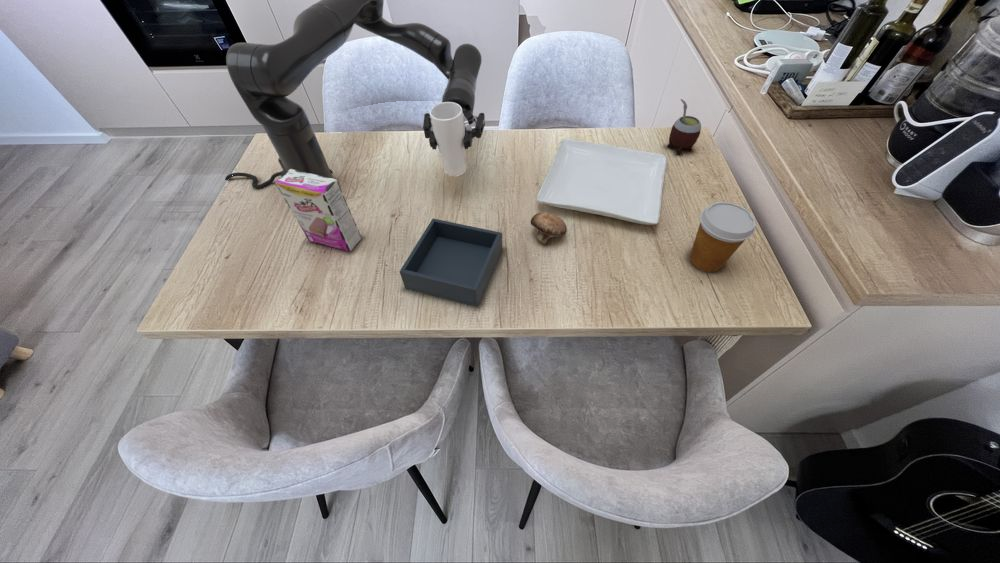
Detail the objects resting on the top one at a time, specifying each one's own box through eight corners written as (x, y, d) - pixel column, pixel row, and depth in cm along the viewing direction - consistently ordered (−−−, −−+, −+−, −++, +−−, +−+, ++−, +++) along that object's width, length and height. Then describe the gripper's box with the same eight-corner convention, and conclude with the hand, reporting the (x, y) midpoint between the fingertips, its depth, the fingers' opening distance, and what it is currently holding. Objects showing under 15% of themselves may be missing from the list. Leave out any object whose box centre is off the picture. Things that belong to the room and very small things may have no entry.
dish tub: (405, 288, 79) (399, 271, 75) (436, 235, 88) (432, 218, 84) (478, 307, 76) (475, 290, 72) (502, 250, 85) (502, 232, 81)
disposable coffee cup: (725, 285, 78) (754, 242, 68) (676, 267, 81) (697, 224, 71) (733, 253, 83) (761, 209, 73) (687, 238, 86) (708, 194, 76)
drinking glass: (464, 181, 90) (455, 122, 78) (436, 176, 91) (423, 117, 79) (474, 163, 94) (467, 103, 81) (447, 158, 95) (437, 99, 83)
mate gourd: (693, 144, 108) (715, 89, 96) (691, 160, 104) (714, 104, 92) (665, 139, 110) (683, 84, 98) (662, 154, 105) (680, 99, 94)
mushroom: (536, 245, 81) (546, 215, 79) (519, 233, 88) (527, 206, 86) (567, 250, 85) (577, 222, 83) (548, 239, 92) (556, 213, 90)
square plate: (654, 236, 86) (659, 223, 83) (534, 212, 93) (534, 198, 89) (664, 165, 102) (668, 152, 99) (560, 148, 108) (562, 135, 105)
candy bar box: (307, 242, 88) (273, 182, 75) (321, 227, 91) (289, 167, 78) (350, 253, 86) (322, 193, 73) (363, 238, 88) (337, 177, 76)
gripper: (489, 116, 96) (484, 160, 87) (431, 116, 97) (419, 160, 88) (487, 86, 90) (481, 130, 81) (425, 87, 91) (412, 130, 82)
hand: (449, 145), depth 84 cm, fingers closed on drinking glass, 6 cm apart
